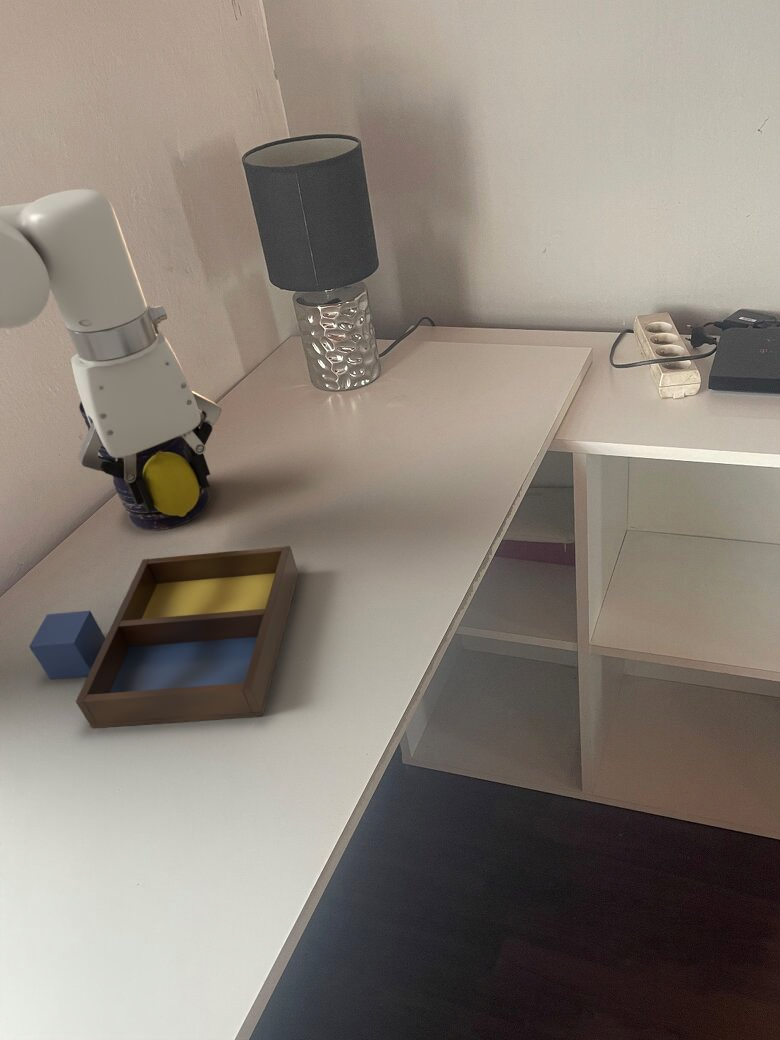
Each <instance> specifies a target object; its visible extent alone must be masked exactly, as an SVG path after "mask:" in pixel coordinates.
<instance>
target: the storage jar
mask: <svg viewBox="0 0 780 1040" xmlns="http://www.w3.org/2000/svg"><path fill="white" fill-rule="evenodd" d="M78 405H79V406H78V408H79V409H78V410H79V412H80V415H81V417H82V418H83V419H84V423H85V425H86V426H87V430H88V431H89V429H90V423H89V421H88V418H87V415H86V413H85V410H84V407H83V404H82V401H81V400H80V403H79V404H78ZM88 431H87V432H88ZM185 444H186V443H185V441H184V440H183V439H182V438H181V437H180V436H179V437H176V438H174V439H171V440H169V441H166V442H164V443H161V444H159V445H156V446H154V447H151V448H149V449H146V450H144V451H141V452H138V453H136V472H137V473H138V474H139V475H140V476H141V477H142V479H143V470H144V466H145V464H146V463H147V461H148V460H149V459H150V458H151V457H152V456H154V455H156V453H157V452H160V451H162V452H171V453H175V454H178V455H180V456H182V457H183V458H184V459H185V460H186V457H185V454H184V451H183V450H184V447H185ZM98 454H99V456H101V457H107V458H110V459H113V460H116V458H114V457H112V456H110V455H109V453H108V452H107V450H106V448H105V447H104V446H103V445H101V448H100V450H99V452H98ZM186 461H187V460H186ZM112 478H113V480H112V481H113V482H112V483H113V486H114V488H115V489H114V490H115V491H116V493H117V495H118V497H119V500H120V502H121V504H122V506H123V507H124V508H125V510H126V512H127V513H128V516H129V519H130V521H131V523H132V524H133V525H134V526H135V528H138V529H141V530H144V531H152V532H153V531H155V532H156V531H165V530H168V529H169V530H170V529H173V528H176V527H178V526H182V525H183V524H186V523H188V522H190V521H192V520H194V518H196V517H197V516H199V515H200V514H201V513H203V511H204V510H205V509H206V508H207V506H208V504H209V503H210V493H209V490H208V488H206V489H205V488H202V487H201V486H200V485H199V497H198V500H197V503H196V504H195V506H194V507H193V508H192V509H191V510H190V511H188V512H187V513H186V515H185V516H182V517H181V516H178V515H175V516H173V515H167V514H164V513H162V512H160V511H159V510H157V509H156V508H155V509H154V511H152V512H150V513H149V512H148V511H147V510H146V508H145V507H144V506H143V505H142V504H140V505H136V503H135V502H134V500H133V498H132V496H131V494H130V491H129V489H128V486H127V484H126V482H125V480H123V479H121V478H118V477H115V476H112Z"/></svg>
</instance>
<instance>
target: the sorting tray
mask: <svg viewBox="0 0 780 1040" xmlns="http://www.w3.org/2000/svg"><path fill="white" fill-rule="evenodd" d="M299 573H300V571H299V569H298V566H297V563H296V559H295V557H294V554H293V551H292V547H291V546H290V545H284V546H273V547H262V548H252V549H240V550H233V551H232V550H231V551H229V550H228V551H220V552H208V553H198V554H196V553H195V554H187V555H175V556H166V557H153V558H144V559H141V561H140V563H139V566H138V569H137V570H136V573H135V575H134V577H133V579H132V581H131V583H130V586H129V588H128V589H127V591H126V594H125V596H124V598H123V600H122V602H121V604H120V606H119V608H118V611H117V613H116V615H115V617H114V619H113V621H112V624H111V625H110V627H109V629H108V632H107V634H106V636H105V640H104V643H103V645H102V647H101V649H100V651H99V653H98V655H97V657H96V660H95V662H94V664H93V666H92V668H91V670H90V672H89V674H88V676H86V678H85V681H84V683H83V685H82V686H81V690H80V692H79V693H78V696H77V698H76V700H75V704H76V706H77V707H78V708H79V710H80V711H81V713H82V715H83V716H84V718H85V719H86V722H88V724H89V726H90V728H92V729H102V728H113V727H114V728H115V727H128V726H129V727H130V726H142V725H156V724H157V725H158V724H171V723H184V722H185V723H186V722H187V723H188V722H199V721H215V720H226V719H227V720H228V719H242V718H255V717H257V718H258V717H263V716H264V712H265V709H266V704H267V700H268V697H269V692H270V689H271V685H272V681H273V677H274V671H275V668H276V665H277V661H278V656H279V653H280V649H281V645H282V640H283V638H284V632H285V628H286V625H287V620H288V617H289V612H290V608H291V605H292V600H293V597H294V593H295V589H296V584H297V581H298V576H299Z"/></svg>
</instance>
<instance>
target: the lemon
mask: <svg viewBox="0 0 780 1040" xmlns="http://www.w3.org/2000/svg"><path fill="white" fill-rule="evenodd" d="M143 480H144V482H145V485H146V487H147V490H148V492H149V495H150V497H151V500H152V502H153V505H154V507H155V508H156V509H157V510H159V511H160V512H162V513H164V514H167V515H173V516H175V515H178V516H181V517H182V516H185V515H186V513H187V512H188V511H190V510H191V509H192V508H193V507H194V506H195V504H196V503H197V500H198V497H199V484H198V479H197V476H196V474H195V472H194V470H193V469H192V467H191V466H190V464H189V463H188V462H187V461H186V460H185V459H184V458H183V457H182V456H180V455H178V454H175V453H171V452H162V451H160V452H157V453H156V455H154V456H152V457H151V458H150V459H149V460H148V461H147V463H146V464H145V466H144V470H143Z"/></svg>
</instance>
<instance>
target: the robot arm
mask: <svg viewBox="0 0 780 1040" xmlns="http://www.w3.org/2000/svg"><path fill="white" fill-rule="evenodd" d="M140 283H141V282H140V280H139V278H138V275H137V272H136V269H135V265H134V263H133V261H132V257H131V254H130V252H129V249H128V246H127V243H126V241H125V238H124V234H123V232H122V228H121V226H120V223H119V220H118V217H117V214H116V212H115V209H114V206H113V204H112V203H111V201H110V200H109V199H108V197H107V196H106V195H105V194H104V193H102V192H100V191H98V190H95V189H90V188H89V189H88V188H78V189H77V188H76V189H69V190H63V191H58V192H55V193H51V194H48V195H45V196H42V197H40V198H38V199H36V200H34V201H33V202H24V203H19V204H10V205H1V206H0V329H5V330H6V329H9V330H10V329H15V328H16V329H17V328H20V327H22V326H25V325H28V324H30V323H31V322H33V321H34V320H36V319H37V318H38V317H39V316H40V315H41V314H42V313H43V311H44V310H45V308H46V306H47V305H48V301H49V298H50V291H51V293H52V295H53V298H54V300H55V302H56V305H57V307H58V310H59V312H60V314H61V317H62V319H63V323H64V324H65V327H66V330H67V332H68V334H69V336H70V339H71V341H72V344H73V346H74V348H75V351H76V354H74V355H73V356H72V357H71V359H70V363H71V368H72V374H73V377H74V381H75V385H76V388H77V393H78V396H79V398H80V402H81V401H82V404H83V407H84V410H85V413H86V415H87V418H88V421H89V423H90V429H89V431H87V434H86V436H85V439H84V442H83V443H82V446H81V448H80V451H79V453H78V457H77V459H78V461H79V463H80V464H81V465H82V466H83V467H85V468H87V469H91V470H94V471H98V472H99V471H100V472H103V473H104V474H107V475H109V476H111V477H113V476H115V477H118V478H121V479H123V480H125V482H126V484H127V486H128V489H129V491H130V494H131V496H132V498H133V500H134V502H135V503H136V505H140V504H142V505H143V506H144V507H145V508H146V510H147V511H148V512H149V513H150V512H152V511H154V509H155V507H154V505H153V502H152V500H151V497H150V495H149V492H148V490H147V487H146V485H145V482H144V480H143V479H142V477H141V476H140V475H139V474H138V473H137V472H136V453H138V452H141V451H144V450H146V449H149V448H151V447H154V446H156V445H159V444H161V443H164V442H166V441H169V440H171V439H174V438H176V437H179V436H180V437H181V438H182V439H183V440H184V441H185V443H186V444H185V447H184V450H183V451H184V454H185V457H186V460H187V462H188V463H189V464H190V466H191V467H192V469H193V470H194V472H195V474H196V476H197V479H198V484H199V485H200V486H201V487H202V488H205V489H206V488H207V489H208V488H210V487H211V486H210V483H209V481H208V476H210V475H211V472H210V468H209V465H208V463H207V460H206V457H205V454H204V453H205V452H206V445H207V442H208V440H209V438H210V436H211V434H212V432H213V427H214V425H215V424H216V423H217V421H218V419H219V417H220V415H221V414H222V411H223V409H222V407H221V406H219V405H218V403H216V402H215V401H212V400H210V399H209V398H207V397H205V396H203V395H201V394H199V393H197V392H196V391H193V390H192V388H191V386H190V383H189V381H188V379H187V377H186V374H185V373H184V370H183V368H182V366H181V364H180V361H179V359H178V357H177V355H176V353H175V352H174V349H173V348H172V346H171V343H169V341H168V340H167V339H168V338H166V336H165V335H164V334H163V333H162V331H161V330H158V328H159V325H158V324H161V323H162V321H166V320H168V315H167V312H166V310H165V308H164V306H163V305H158V306H156V307H155V306H150V305H148V304H147V301H146V298H145V295H144V292H143V289H142V287H141V284H140ZM200 411H201V413H200ZM101 445H103V446H104V447H105V448H106V450H107V452H108V453H109V455H110V456H112V457H114V458H116V460H113V459H110V458H107V457H102V456H101V455H100V454H99V450H100V448H101Z"/></svg>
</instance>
